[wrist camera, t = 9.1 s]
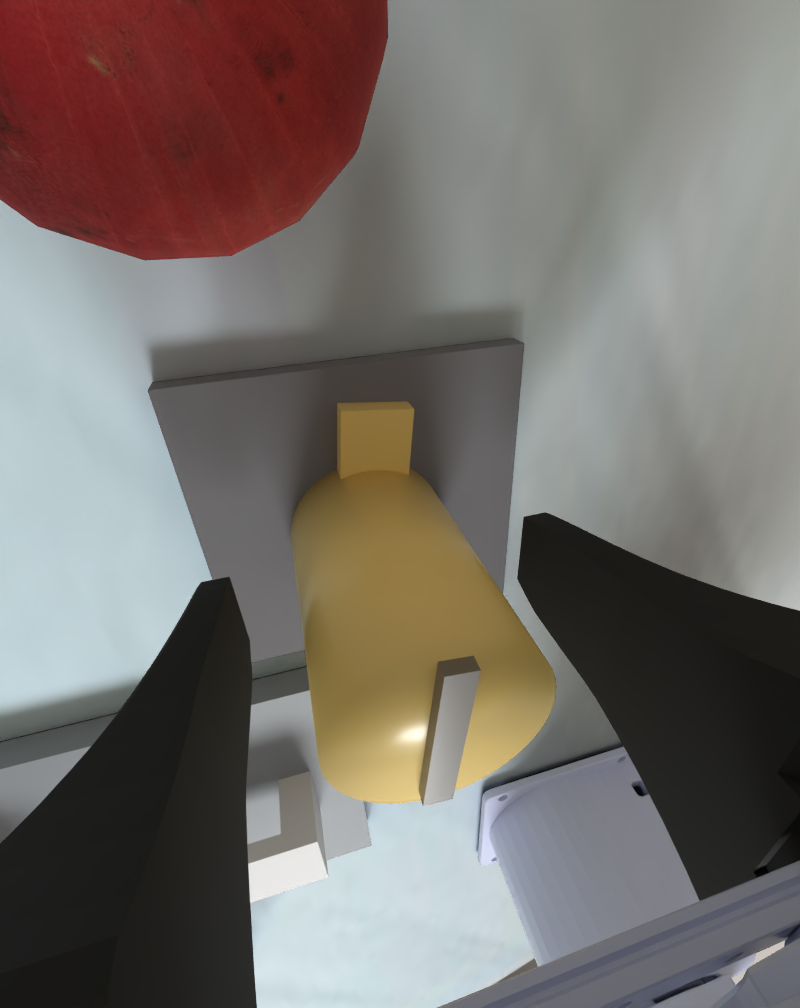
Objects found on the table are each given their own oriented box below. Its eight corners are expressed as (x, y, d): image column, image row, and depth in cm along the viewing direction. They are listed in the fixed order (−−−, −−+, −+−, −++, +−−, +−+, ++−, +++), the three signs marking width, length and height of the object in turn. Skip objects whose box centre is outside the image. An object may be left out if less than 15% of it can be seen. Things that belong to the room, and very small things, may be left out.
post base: (337, 659, 17) (355, 750, 14) (367, 823, 23) (383, 908, 20) (-203, 792, 14) (-322, 943, 11) (1, 939, 20) (-41, 1059, 17)
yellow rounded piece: (427, 616, 16) (521, 827, 11) (297, 635, 15) (323, 882, 9) (455, 400, 12) (623, 552, 7) (282, 403, 11) (313, 591, 6)
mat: (513, 338, 13) (524, 343, 12) (495, 591, 17) (502, 602, 17) (152, 382, 11) (147, 390, 10) (242, 651, 16) (241, 665, 15)
